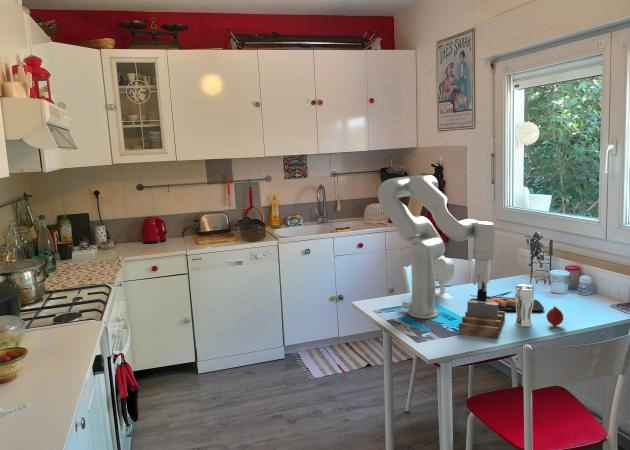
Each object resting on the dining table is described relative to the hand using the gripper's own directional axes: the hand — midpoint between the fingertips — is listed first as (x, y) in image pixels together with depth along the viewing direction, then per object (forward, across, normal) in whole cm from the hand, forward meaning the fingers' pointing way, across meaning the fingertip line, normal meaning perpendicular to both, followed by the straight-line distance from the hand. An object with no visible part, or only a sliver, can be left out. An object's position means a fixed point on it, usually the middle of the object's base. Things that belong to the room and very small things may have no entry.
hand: (481, 300), depth 200 cm
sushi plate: (+12, -36, +4) cm, 38 cm away
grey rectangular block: (+10, 0, +1) cm, 10 cm away
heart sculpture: (+11, -36, -23) cm, 45 cm away
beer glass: (+11, -9, +15) cm, 20 cm away
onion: (+10, -11, +26) cm, 30 cm away
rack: (+11, 0, +1) cm, 11 cm away
